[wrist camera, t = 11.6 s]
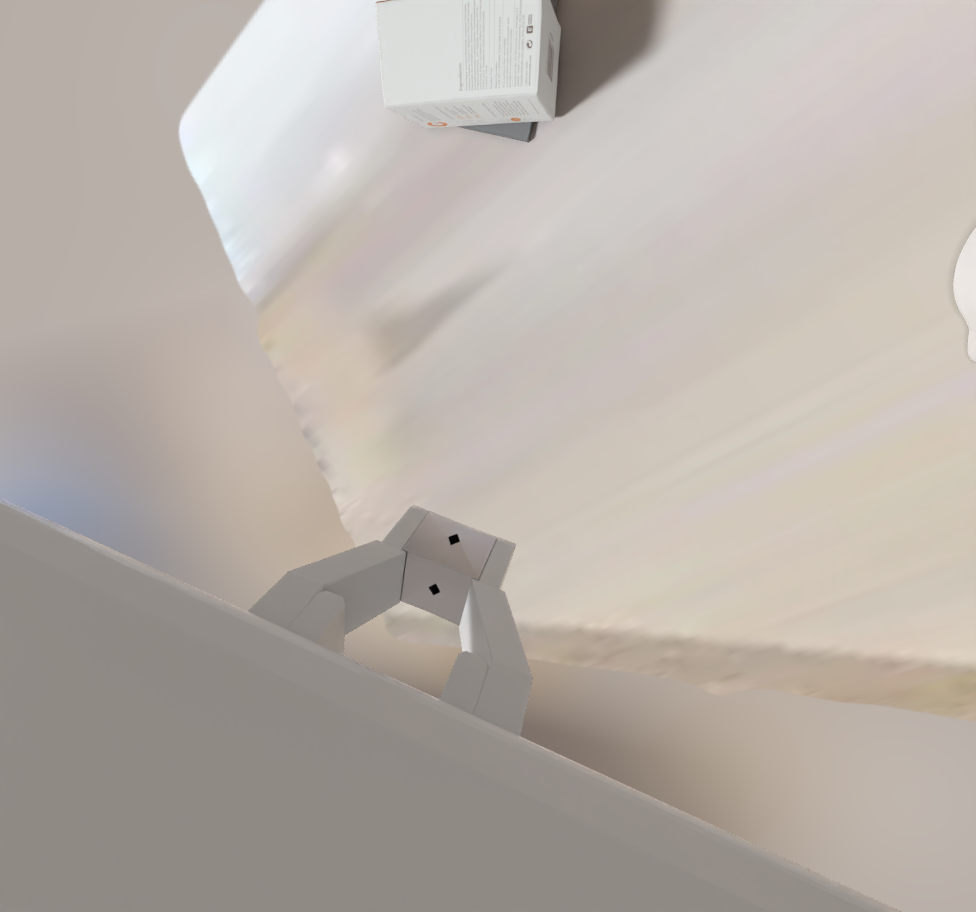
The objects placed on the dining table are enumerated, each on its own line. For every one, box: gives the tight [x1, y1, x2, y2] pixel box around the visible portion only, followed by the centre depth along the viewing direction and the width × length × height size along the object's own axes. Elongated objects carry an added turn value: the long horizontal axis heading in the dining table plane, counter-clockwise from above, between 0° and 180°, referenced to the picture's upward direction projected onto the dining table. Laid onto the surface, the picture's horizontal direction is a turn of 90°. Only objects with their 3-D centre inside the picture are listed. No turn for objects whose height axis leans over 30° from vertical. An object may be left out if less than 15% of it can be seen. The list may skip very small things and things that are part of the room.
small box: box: [375, 0, 561, 128], centre depth 33 cm, size 8×6×13 cm
